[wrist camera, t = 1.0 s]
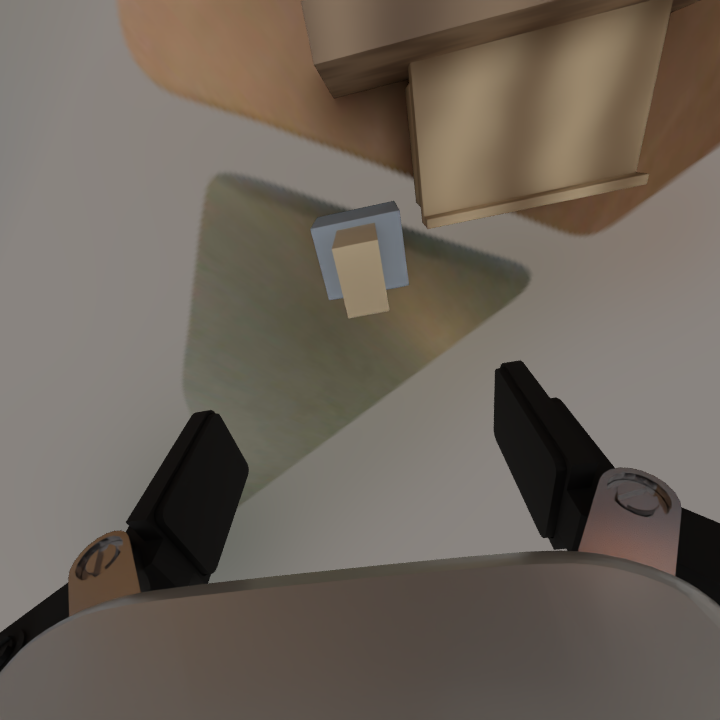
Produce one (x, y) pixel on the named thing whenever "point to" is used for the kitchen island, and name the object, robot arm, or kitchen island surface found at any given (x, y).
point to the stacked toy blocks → (361, 256)
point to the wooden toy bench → (503, 92)
